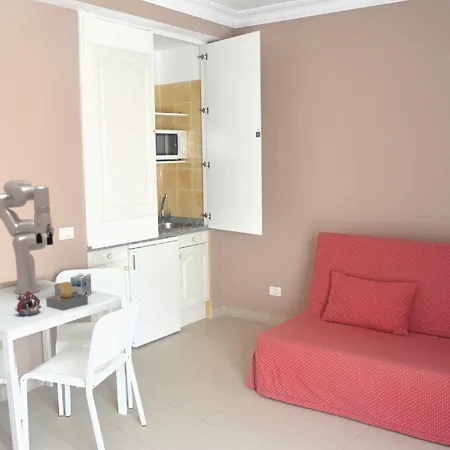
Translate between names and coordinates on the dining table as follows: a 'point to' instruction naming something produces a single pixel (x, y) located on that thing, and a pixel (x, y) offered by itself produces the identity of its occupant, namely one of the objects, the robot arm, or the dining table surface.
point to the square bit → (66, 290)
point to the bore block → (67, 301)
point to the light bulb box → (81, 284)
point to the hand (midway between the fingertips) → (44, 244)
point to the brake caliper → (28, 304)
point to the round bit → (57, 289)
